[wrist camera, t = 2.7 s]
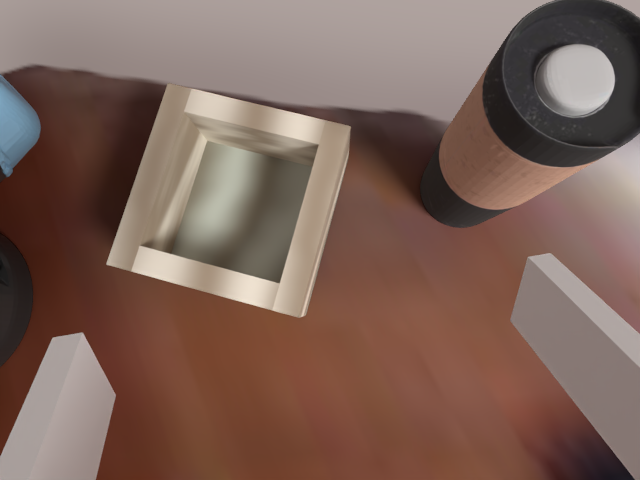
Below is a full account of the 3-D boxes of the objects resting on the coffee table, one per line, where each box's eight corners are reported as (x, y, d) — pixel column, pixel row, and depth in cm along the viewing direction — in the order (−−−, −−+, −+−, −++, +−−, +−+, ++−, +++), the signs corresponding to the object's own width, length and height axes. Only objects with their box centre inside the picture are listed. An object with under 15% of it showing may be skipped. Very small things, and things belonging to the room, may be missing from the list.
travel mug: (421, 144, 40) (506, -16, 20) (505, 155, 39) (677, 2, 19) (411, 224, 38) (489, 139, 19) (497, 237, 38) (670, 163, 18)
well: (147, 271, 39) (106, 264, 32) (196, 120, 41) (168, 82, 34) (305, 315, 38) (298, 317, 31) (348, 157, 40) (350, 126, 33)
